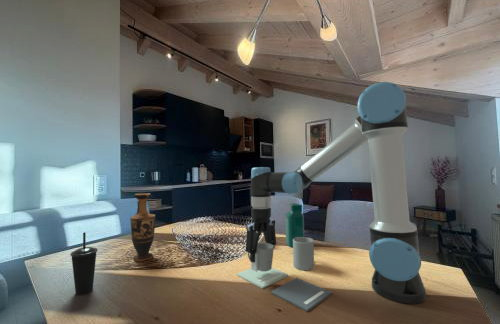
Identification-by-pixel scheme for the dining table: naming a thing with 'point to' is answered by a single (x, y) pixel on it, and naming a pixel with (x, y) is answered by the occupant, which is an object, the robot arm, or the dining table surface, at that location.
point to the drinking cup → (84, 268)
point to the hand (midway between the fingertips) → (261, 267)
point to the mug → (303, 253)
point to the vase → (142, 229)
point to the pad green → (262, 277)
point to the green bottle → (294, 223)
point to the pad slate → (301, 293)
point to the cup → (264, 256)
